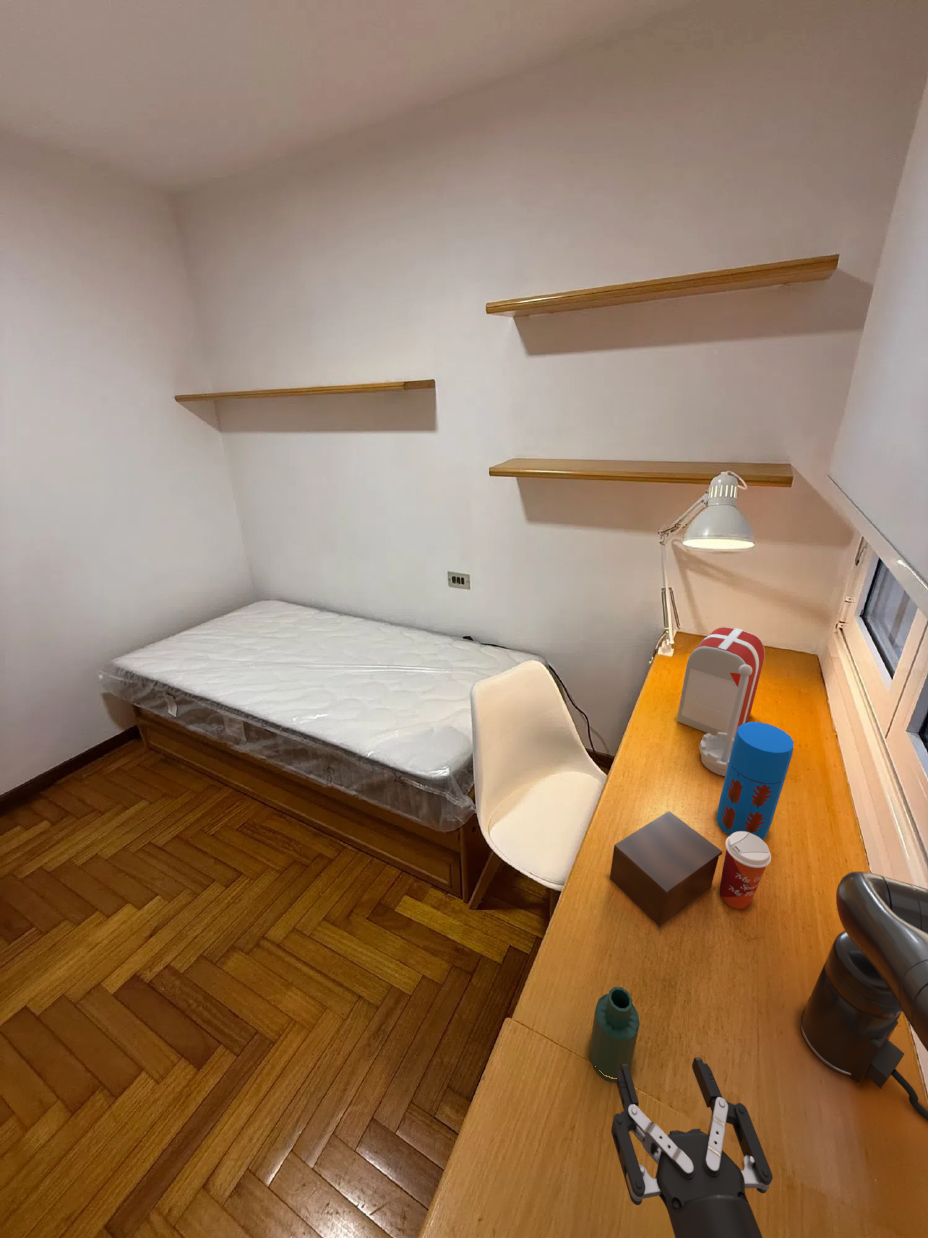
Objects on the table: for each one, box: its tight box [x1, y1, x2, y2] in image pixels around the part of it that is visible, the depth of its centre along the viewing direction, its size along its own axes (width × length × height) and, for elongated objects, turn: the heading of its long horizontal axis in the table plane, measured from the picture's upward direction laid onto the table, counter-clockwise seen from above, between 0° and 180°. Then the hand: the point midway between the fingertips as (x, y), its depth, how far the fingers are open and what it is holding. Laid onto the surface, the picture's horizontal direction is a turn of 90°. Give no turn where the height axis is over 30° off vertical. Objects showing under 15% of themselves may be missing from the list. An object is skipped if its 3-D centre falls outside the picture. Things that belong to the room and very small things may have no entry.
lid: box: [613, 810, 723, 895], centre depth 102 cm, size 16×13×1 cm
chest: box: [609, 847, 720, 928], centre depth 104 cm, size 16×13×9 cm
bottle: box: [589, 986, 641, 1083], centre depth 75 cm, size 6×6×15 cm
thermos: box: [715, 721, 795, 841], centre depth 114 cm, size 11×11×25 cm
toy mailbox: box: [676, 626, 766, 739], centre depth 151 cm, size 16×18×27 cm
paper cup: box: [718, 831, 772, 910], centre depth 100 cm, size 8×8×14 cm
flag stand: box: [698, 664, 752, 777], centre depth 132 cm, size 13×13×30 cm
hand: (659, 1064), depth 59 cm, fingers open, 8 cm apart
